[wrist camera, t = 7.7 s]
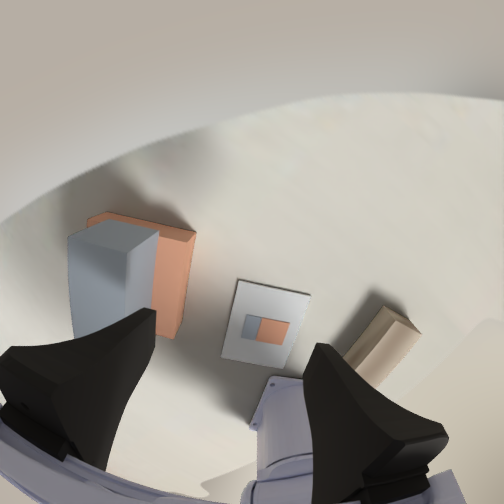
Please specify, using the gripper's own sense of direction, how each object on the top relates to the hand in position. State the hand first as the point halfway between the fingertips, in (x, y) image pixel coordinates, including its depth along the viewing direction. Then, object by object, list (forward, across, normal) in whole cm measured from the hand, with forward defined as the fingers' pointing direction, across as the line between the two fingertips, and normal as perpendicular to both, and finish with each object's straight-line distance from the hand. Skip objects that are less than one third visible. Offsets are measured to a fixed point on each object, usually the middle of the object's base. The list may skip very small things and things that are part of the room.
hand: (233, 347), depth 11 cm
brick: (+11, -14, +6) cm, 18 cm away
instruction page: (+10, -3, +5) cm, 12 cm away
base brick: (+10, +8, +2) cm, 13 cm away
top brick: (+7, +8, +2) cm, 11 cm away
